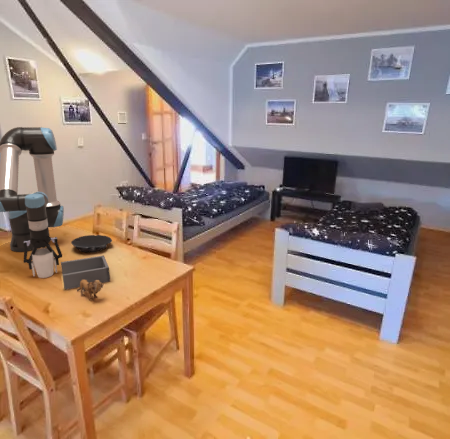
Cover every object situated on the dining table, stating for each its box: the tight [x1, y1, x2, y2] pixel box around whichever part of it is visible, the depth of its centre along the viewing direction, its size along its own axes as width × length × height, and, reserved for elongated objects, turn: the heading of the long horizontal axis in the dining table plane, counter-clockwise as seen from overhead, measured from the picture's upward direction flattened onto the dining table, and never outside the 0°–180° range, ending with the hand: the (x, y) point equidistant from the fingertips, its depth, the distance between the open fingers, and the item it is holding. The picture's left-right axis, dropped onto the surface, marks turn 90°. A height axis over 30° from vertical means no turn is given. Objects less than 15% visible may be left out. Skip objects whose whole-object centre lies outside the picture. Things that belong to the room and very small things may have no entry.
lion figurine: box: [76, 280, 105, 302], centre depth 141 cm, size 15×5×9 cm, turn 64°
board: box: [71, 234, 113, 254], centre depth 190 cm, size 22×22×5 cm
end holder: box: [60, 255, 111, 291], centre depth 156 cm, size 14×20×7 cm
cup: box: [32, 247, 55, 279], centre depth 157 cm, size 9×9×12 cm
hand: (45, 273), depth 158 cm, fingers closed on cup, 9 cm apart
